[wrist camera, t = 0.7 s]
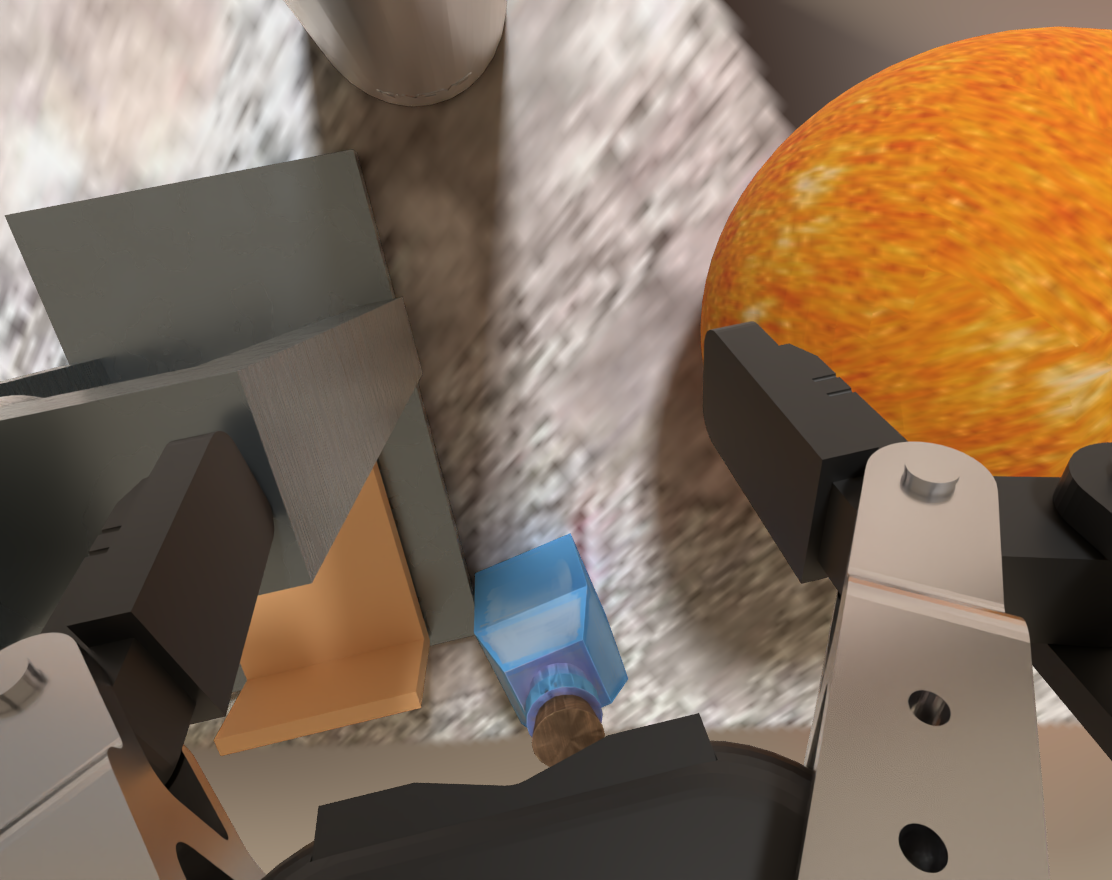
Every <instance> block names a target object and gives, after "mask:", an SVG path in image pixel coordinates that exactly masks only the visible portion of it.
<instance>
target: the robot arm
mask: <svg viewBox="0 0 1112 880" xmlns="http://www.w3.org/2000/svg"><path fill="white" fill-rule="evenodd" d="M284 2H285V3H286V4H287V6H288V7H289V8H290V10H291V11H292V12H293V13H294V15H295V16H296V17H297V19H298V20H299V21H300V23H301V24H302V26H303V27H304V28H305V30H306V31H307V32H308V34H309V35H310V36H311V37H312V39H313V40H314V41H315V43H316V44H317V45H318V47H319V48H320V49H321V50H322V52H323V53H324V54H325V56H326V57H327V58H328V60H329V61H330V62H331V64H332V65H333V66H334V67H335V68H336V69H337V70H338V71H339V72H340V73H341V74H342V75H343V76H344V77H345V78H346V79H347V80H348V81H349V82H350V83H352V84H353V85H355V86H356V87H358V88H359V89H361V90H362V91H364V92H366V93H367V94H369V95H371V96H373V97H376V98H378V99H381V100H383V101H386V102H388V103H392V104H399V105H405V106H424V105H432V104H436V103H439V102H442V101H445V100H448V99H451V98H452V97H454V96H456V95H457V94H459V93H461V92H462V91H464V90H466V89H467V88H468V87H469V86H470V85H472V84H473V83H474V82H475V81H476V80H477V79H478V78H479V77H480V76H481V75H482V74H483V72H484V71H485V69H486V67H487V66H488V64H489V63H490V61H491V60H492V58H493V57H494V55H495V52H496V49H497V47H498V44H499V42H500V39H501V37H502V32H503V27H504V21H505V15H506V7H507V0H284ZM703 414H704V420H705V425H706V428H707V432H708V434H709V437H710V439H711V441H712V443H713V445H714V446H715V448H716V449H717V451H718V453H719V454H720V456H721V457H722V459H723V460H724V462H725V464H726V465H727V467H728V468H729V470H730V472H731V473H732V475H733V476H734V478H735V479H736V481H737V483H738V484H739V486H740V487H741V489H742V491H743V492H744V494H745V495H746V497H747V498H748V500H749V502H750V503H751V505H752V506H753V508H754V510H755V511H756V513H757V514H758V516H759V517H760V519H761V521H762V522H763V524H764V525H765V527H766V528H767V530H768V532H769V533H770V535H771V536H772V538H773V540H774V541H775V543H776V544H777V546H778V547H779V549H780V551H781V552H782V554H783V555H784V557H785V559H786V560H787V562H788V563H789V565H790V566H791V568H792V570H793V571H794V573H795V574H796V576H797V578H798V579H799V581H800V582H801V584H802V583H806V582H810V581H814V580H819V579H823V578H827V577H829V578H830V580H831V581H832V583H833V584H834V586H835V587H836V589H837V590H838V591H837V595H836V599H835V604H834V609H833V615H832V620H831V626H830V631H829V637H828V642H827V648H826V653H825V658H824V664H823V669H822V675H821V680H820V686H819V691H818V697H817V702H816V707H815V712H814V718H813V723H812V727H811V733H810V737H809V742H808V747H807V752H806V756H805V761H804V765H802V764H800V763H798V762H796V761H793V760H791V759H789V758H786V757H784V756H781V755H779V754H776V753H774V752H771V751H768V750H764V749H761V748H756V747H753V746H750V745H745V744H739V743H732V742H726V741H709V738H708V735H707V733H706V730H705V727H704V725H703V722H702V719H701V717H700V714H699V713H698V714H694V715H689V716H685V717H681V718H677V719H673V720H669V721H665V722H661V723H657V724H653V725H649V726H644V727H640V728H636V729H632V730H628V731H624V732H620V733H616V734H612V735H608V736H606V737H604V738H602V739H601V740H599V741H597V742H595V743H593V744H591V745H590V746H588V747H586V748H584V749H582V750H581V751H579V752H577V753H575V754H573V755H571V756H570V757H568V758H566V759H564V760H562V761H560V762H559V763H557V764H555V765H553V766H551V767H550V768H548V769H546V770H544V771H542V772H540V773H538V774H537V775H535V776H533V777H531V778H530V779H528V780H526V781H523V782H521V783H519V784H516V785H510V786H496V785H495V786H494V785H467V784H438V783H411V784H407V785H403V786H399V787H395V788H391V789H387V790H383V791H379V792H375V793H371V794H366V795H363V796H359V797H354V798H350V799H346V800H342V801H338V802H334V803H330V804H326V805H322V806H319V808H318V816H317V823H316V831H315V839H314V841H313V842H311V843H310V844H308V845H306V846H305V847H303V848H302V849H300V850H299V851H297V852H296V853H294V854H293V855H291V856H290V857H289V858H287V859H286V860H284V861H283V862H281V863H280V864H279V865H278V866H276V867H275V868H274V869H273V870H272V871H270V872H269V873H268V874H267V875H266V874H265V873H264V872H263V870H262V869H261V868H260V867H259V866H258V865H257V863H256V862H255V861H254V859H253V858H252V857H251V855H250V854H249V852H248V851H247V849H246V848H245V846H244V844H243V842H242V841H241V839H240V837H239V835H238V834H237V832H236V830H235V828H234V826H233V825H232V823H231V821H230V819H229V818H228V816H227V814H226V812H225V811H224V809H223V807H222V805H221V803H220V802H219V800H218V798H217V796H216V794H215V793H214V791H213V789H212V787H211V786H210V784H209V782H208V781H207V778H206V777H205V775H204V773H203V771H202V770H201V768H200V766H199V764H198V762H197V761H196V759H195V757H194V755H193V754H192V753H191V751H190V750H189V749H188V748H187V747H186V746H185V745H184V741H185V737H186V734H187V731H188V728H189V725H190V724H194V723H199V722H203V721H207V720H211V719H216V718H220V717H224V716H226V713H227V709H228V705H229V701H230V698H231V694H232V690H233V686H234V683H235V679H236V675H237V672H238V668H239V664H240V660H241V657H242V653H243V649H244V645H245V642H246V638H247V634H248V631H249V627H250V623H251V619H252V616H253V612H254V608H255V604H256V601H257V597H258V593H259V589H260V586H261V582H262V578H263V575H264V571H265V567H266V563H267V560H268V556H269V552H270V548H271V545H272V541H273V537H274V519H273V514H272V510H271V507H270V504H269V502H268V500H267V498H266V496H265V494H264V493H263V491H262V489H261V487H260V486H259V484H258V482H257V481H256V479H255V477H254V475H253V474H252V472H251V470H250V469H249V467H248V465H247V463H246V462H245V460H244V458H243V456H242V455H241V453H240V451H239V450H238V448H237V446H236V444H235V443H234V441H233V440H232V438H231V437H230V436H229V435H228V434H227V433H225V432H223V431H216V432H211V433H206V434H202V435H197V436H192V437H187V438H182V439H178V440H173V441H170V442H169V443H168V444H167V445H166V447H165V448H164V450H163V452H162V454H161V455H160V457H159V459H158V461H157V463H156V464H155V466H154V468H153V470H152V472H151V473H150V475H149V477H148V478H144V479H142V480H141V481H140V482H139V483H138V484H137V485H136V486H135V487H134V488H133V489H132V490H131V491H130V492H128V493H127V494H126V495H125V496H124V497H123V498H122V499H121V500H120V501H119V502H118V503H117V504H116V505H115V507H114V509H113V511H112V512H111V514H110V516H109V517H108V519H107V521H106V523H105V524H104V526H103V528H102V529H101V530H102V534H101V535H98V536H97V538H96V540H95V541H94V543H93V545H92V546H91V548H90V550H89V551H88V552H89V557H85V558H84V560H83V562H82V563H81V565H80V567H79V569H78V570H77V572H76V574H75V575H74V577H73V579H72V580H71V582H70V584H69V586H68V587H67V589H66V591H65V592H64V594H63V596H62V597H61V599H60V601H59V603H58V604H57V606H56V608H55V609H54V611H53V613H52V615H51V616H50V618H49V620H48V621H47V623H46V625H45V626H44V628H43V630H42V632H41V633H40V634H39V635H35V636H31V637H29V638H26V639H23V640H20V641H18V642H16V643H14V644H12V645H10V646H8V647H6V648H4V649H2V650H1V651H0V880H1051V879H1050V868H1049V856H1048V845H1047V834H1046V822H1045V809H1044V798H1043V786H1042V775H1041V763H1040V752H1039V741H1038V728H1037V716H1036V705H1035V693H1034V681H1033V670H1032V665H1033V667H1034V668H1035V669H1036V670H1037V671H1038V673H1039V674H1040V675H1041V676H1042V677H1043V679H1044V680H1045V681H1046V682H1047V683H1048V685H1049V686H1050V687H1051V688H1052V689H1053V691H1054V692H1055V693H1056V694H1057V695H1058V697H1059V698H1060V699H1061V700H1062V701H1063V703H1064V704H1065V705H1066V706H1067V707H1068V709H1069V710H1070V711H1071V712H1072V714H1073V715H1074V716H1075V717H1076V718H1077V720H1078V721H1079V722H1080V723H1081V724H1082V726H1083V727H1084V728H1085V729H1086V730H1087V732H1088V733H1089V734H1090V735H1091V736H1092V738H1093V739H1094V740H1095V741H1096V742H1097V743H1098V745H1099V746H1100V747H1101V748H1102V750H1103V751H1104V752H1105V753H1106V754H1107V756H1108V757H1109V758H1110V759H1111V760H1112V442H1105V443H1097V444H1092V445H1088V446H1085V447H1083V448H1081V449H1079V450H1078V451H1076V452H1075V453H1074V454H1073V455H1072V457H1071V458H1070V460H1069V462H1068V464H1067V466H1066V468H1065V470H1064V472H1063V474H1062V476H1061V477H1013V476H992V474H991V473H990V472H989V471H988V469H986V468H985V467H984V466H983V465H982V464H981V463H980V462H978V461H977V460H975V459H974V458H972V457H970V456H968V455H967V454H965V453H963V452H960V451H958V450H955V449H953V448H950V447H946V446H943V445H938V444H934V443H927V442H908V441H907V440H906V439H905V438H904V437H903V436H902V435H901V434H900V433H899V432H898V431H897V430H895V429H894V428H893V427H892V426H891V425H890V424H889V423H888V422H887V421H886V420H885V419H884V418H883V417H882V416H881V415H880V414H878V413H877V412H876V411H875V410H874V409H873V408H872V407H871V406H870V405H869V404H868V403H867V402H866V401H865V400H864V399H863V398H861V397H860V396H859V395H858V394H857V393H856V392H852V390H851V387H850V386H849V385H848V384H847V383H846V382H844V381H843V380H842V379H841V378H840V377H836V373H835V372H834V371H833V370H832V369H831V368H830V367H829V366H828V365H826V364H825V363H824V362H823V361H822V360H821V359H820V358H819V357H818V356H816V355H814V354H812V353H810V352H807V351H805V350H803V349H801V348H798V347H796V346H794V345H792V344H790V343H789V344H784V345H778V344H777V343H776V342H775V341H774V340H773V339H772V338H771V337H770V336H769V335H768V334H767V333H766V332H765V331H764V330H763V329H762V328H761V327H760V326H759V325H758V324H757V323H756V322H754V321H750V322H745V323H740V324H735V325H731V326H726V327H721V328H716V329H711V330H708V331H707V333H706V335H705V339H704V373H703Z"/></svg>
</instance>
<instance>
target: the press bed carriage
mask: <svg viewBox="0 0 1112 880" xmlns="http://www.w3.org/2000/svg"><path fill="white" fill-rule="evenodd" d="M429 646H430V639H429V635H428V632H427V629H426V625H425V622H424V619H423V615H422V612H421V609H420V605H419V602H418V598H417V595H416V592H415V588H414V585H413V582H412V578H411V575H410V572H409V568H408V565H407V561H406V558H405V555H404V551H403V548H402V545H401V541H400V538H399V535H398V531H397V528H396V524H395V521H394V518H393V514H392V511H391V508H390V504H389V501H388V497H387V494H386V491H385V487H384V484H383V481H382V477H381V474H380V471H379V467H378V464H377V461H376V463H375V465H374V467H373V469H372V470H371V472H370V474H369V476H368V478H367V480H366V482H365V484H364V486H363V487H362V489H361V491H360V493H359V495H358V497H357V499H356V501H355V503H354V505H353V506H352V508H351V510H350V512H349V514H348V516H347V518H346V520H345V522H344V523H343V525H342V527H341V529H340V531H339V533H338V535H337V537H336V539H335V541H334V542H333V544H332V546H331V548H330V550H329V552H328V554H327V556H326V558H325V560H324V561H323V563H322V565H321V567H320V569H319V571H318V573H317V575H316V577H315V578H314V580H313V582H312V583H311V584H307V585H302V586H298V587H294V588H289V589H285V590H280V591H276V592H272V593H267V594H263V595H258V597H257V601H256V604H255V608H254V612H253V616H252V619H251V623H250V627H249V631H248V634H247V638H246V642H245V645H244V649H243V653H242V657H241V660H240V664H241V666H242V669H243V671H244V674H245V676H246V679H247V681H246V683H245V685H244V687H243V689H242V690H241V692H240V694H239V696H238V698H237V699H236V701H235V703H234V705H233V706H232V708H231V710H230V712H229V714H228V715H227V717H226V719H225V721H224V723H223V724H222V726H221V728H220V730H219V731H218V733H217V735H216V737H215V739H214V742H215V744H216V747H217V749H218V751H219V753H220V756H224V755H228V754H232V753H236V752H240V751H244V750H249V749H253V748H257V747H261V746H265V745H269V744H273V743H278V742H282V741H286V740H290V739H294V738H298V737H302V736H307V735H311V734H315V733H319V732H323V731H327V730H331V729H336V728H340V727H344V726H348V725H352V724H356V723H360V722H365V721H369V720H373V719H377V718H381V717H385V716H389V715H394V714H398V713H402V712H406V711H410V710H414V709H418V708H421V704H422V697H423V690H424V682H425V675H426V668H427V660H428V653H429Z"/></svg>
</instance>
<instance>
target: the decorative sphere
mask: <svg viewBox="0 0 1112 880" xmlns="http://www.w3.org/2000/svg"><path fill="white" fill-rule="evenodd" d="M750 321H754V322H756V323H757V324H758V325H759V326H760V327H761V328H762V329H763V330H764V331H765V332H766V333H767V334H768V335H769V336H770V337H771V338H772V339H773V340H774V341H775V342H776V343H777V344H778V345H784V344H789V343H790V344H792V345H794V346H796V347H798V348H801V349H803V350H805V351H807V352H810V353H812V354H814V355H816V356H818V357H819V358H820V359H821V360H822V361H823V362H824V363H825V364H826V365H828V366H829V367H830V368H831V369H832V370H833V371H834V372H835V373H836V377H840V378H841V379H842V380H843V381H844V382H846V383H847V384H848V385H849V386H850V387H851V390H852V392H856V393H857V394H858V395H859V396H860V397H861V398H863V399H864V400H865V401H866V402H867V403H868V404H869V405H870V406H871V407H872V408H873V409H874V410H875V411H876V412H877V413H878V414H880V415H881V416H882V417H883V418H884V419H885V420H886V421H887V422H888V423H889V424H890V425H891V426H892V427H893V428H894V429H895V430H897V431H898V432H899V433H900V434H901V435H902V436H903V437H904V438H905V439H906V440H907V441H908V442H927V443H934V444H938V445H943V446H946V447H950V448H953V449H955V450H958V451H960V452H963V453H965V454H967V455H968V456H970V457H972V458H974V459H975V460H977V461H978V462H980V463H981V464H982V465H983V466H984V467H985V468H986V469H988V471H989V472H990V473H991V474H992V476H1013V477H1061V476H1062V474H1063V472H1064V470H1065V468H1066V466H1067V464H1068V462H1069V460H1070V458H1071V457H1072V455H1073V454H1074V453H1075V452H1076V451H1078V450H1079V449H1081V448H1083V447H1085V446H1088V445H1092V444H1097V443H1105V442H1112V30H1108V29H1107V30H1106V29H1090V28H1073V27H1047V28H1031V29H1020V30H1010V31H1004V32H998V33H993V34H987V35H982V36H978V37H973V38H969V39H965V40H961V41H957V42H954V43H950V44H947V45H944V46H940V47H937V48H934V49H931V50H929V51H926V52H924V53H921V54H918V55H916V56H913V57H911V58H909V59H907V60H904V61H902V62H899V63H897V64H894V65H892V66H890V67H888V68H886V69H884V70H882V71H881V72H879V73H877V74H875V75H873V76H871V77H870V78H868V79H866V80H864V81H862V82H861V83H859V84H857V85H855V86H854V87H852V88H850V89H849V90H847V91H846V92H844V93H843V94H841V95H840V96H838V97H837V98H835V99H834V100H832V101H831V102H829V103H828V104H827V105H825V106H824V107H823V108H822V109H821V110H820V111H818V112H817V113H816V114H814V115H813V116H812V117H811V118H810V119H809V120H808V121H806V122H805V123H804V124H802V125H801V126H800V127H799V128H798V129H796V130H795V131H794V132H793V133H792V134H791V135H790V136H789V137H788V138H787V139H786V140H785V141H784V142H783V143H782V144H781V145H780V146H779V147H778V148H777V150H776V151H775V152H774V153H773V154H772V156H771V157H770V158H769V159H768V160H767V162H766V163H765V164H764V165H763V166H762V168H761V169H760V170H759V171H758V172H757V174H756V175H755V176H754V178H753V179H752V181H751V182H750V183H749V185H748V186H747V188H746V189H745V191H744V192H743V193H742V195H741V197H740V198H739V200H738V202H737V204H736V205H735V207H734V209H733V211H732V212H731V214H730V216H729V218H728V220H727V222H726V225H725V227H724V229H723V231H722V233H721V235H720V238H719V241H718V243H717V246H716V249H715V252H714V254H713V257H712V260H711V264H710V268H709V272H708V275H707V279H706V284H705V289H704V295H703V301H702V313H701V351H702V360H703V368H704V339H705V335H706V333H707V331H708V330H711V329H716V328H721V327H726V326H731V325H735V324H740V323H745V322H750Z"/></svg>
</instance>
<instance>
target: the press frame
mask: <svg viewBox="0 0 1112 880" xmlns="http://www.w3.org/2000/svg"><path fill="white" fill-rule="evenodd" d="M5 217H6V220H7V222H8V224H9V227H10V229H11V231H12V233H13V236H14V238H15V240H16V243H17V245H18V247H19V250H20V252H21V254H22V256H23V259H24V261H25V263H26V266H27V268H28V270H29V273H30V275H31V277H32V280H33V282H34V284H35V286H36V289H37V291H38V293H39V296H40V298H41V300H42V303H43V305H44V307H45V309H46V312H47V314H48V316H49V319H50V321H51V323H52V326H53V328H54V330H55V332H56V335H57V337H58V339H59V342H60V344H61V346H62V349H63V351H64V353H65V355H66V358H67V360H68V362H69V365H65V366H60V367H56V368H52V369H48V370H44V371H40V372H36V373H32V374H28V375H24V376H20V377H16V378H12V379H8V380H4V381H0V651H1V650H2V649H4V648H6V647H8V646H10V645H12V644H14V643H16V642H18V641H20V640H23V639H26V638H29V637H31V636H35V635H39V634H40V633H41V632H42V630H43V628H44V626H45V625H46V623H47V621H48V620H49V618H50V616H51V615H52V613H53V611H54V609H55V608H56V606H57V604H58V603H59V601H60V599H61V597H62V596H63V594H64V592H65V591H66V589H67V587H68V586H69V584H70V582H71V580H72V579H73V577H74V575H75V574H76V572H77V570H78V569H79V567H80V565H81V563H82V562H83V560H84V558H85V557H89V552H88V551H89V550H90V548H91V546H92V545H93V543H94V541H95V540H96V538H97V536H98V535H101V534H102V530H101V529H102V528H103V526H104V524H105V523H106V521H107V519H108V517H109V516H110V514H111V512H112V511H113V509H114V507H115V505H116V504H117V503H118V502H119V501H120V500H121V499H122V498H123V497H124V496H125V495H126V494H127V493H128V492H130V491H131V490H132V489H133V488H134V487H135V486H136V485H137V484H138V483H139V482H140V481H141V480H142V479H144V478H148V477H149V475H150V473H151V472H152V470H153V468H154V466H155V464H156V463H157V461H158V459H159V457H160V455H161V454H162V452H163V450H164V448H165V447H166V445H167V444H168V443H169V442H170V441H173V440H178V439H182V438H187V437H192V436H197V435H202V434H206V433H211V432H216V431H223V432H225V433H227V434H228V435H229V436H230V437H231V438H232V440H233V441H234V443H235V444H236V446H237V448H238V450H239V451H240V453H241V455H242V456H243V458H244V460H245V462H246V463H247V465H248V467H249V469H250V470H251V472H252V474H253V475H254V477H255V479H256V481H257V482H258V484H259V486H260V487H261V489H262V491H263V493H264V494H265V496H266V498H267V500H268V502H269V504H270V507H271V510H272V514H273V519H274V537H273V541H272V545H271V548H270V552H269V556H268V560H267V563H266V567H265V571H264V575H263V578H262V582H261V586H260V589H259V593H258V595H263V594H267V593H272V592H276V591H280V590H285V589H289V588H294V587H298V586H302V585H307V584H311V583H312V582H313V580H314V578H315V577H316V575H317V573H318V571H319V569H320V567H321V565H322V563H323V561H324V560H325V558H326V556H327V554H328V552H329V550H330V548H331V546H332V544H333V542H334V541H335V539H336V537H337V535H338V533H339V531H340V529H341V527H342V525H343V523H344V522H345V520H346V518H347V516H348V514H349V512H350V510H351V508H352V506H353V505H354V503H355V501H356V499H357V497H358V495H359V493H360V491H361V489H362V487H363V486H364V484H365V482H366V480H367V478H368V476H369V474H370V472H371V470H372V469H373V467H374V465H375V463H376V461H377V464H378V467H379V471H380V474H381V477H382V481H383V484H384V487H385V491H386V494H387V497H388V501H389V504H390V508H391V511H392V514H393V518H394V521H395V524H396V528H397V531H398V535H399V538H400V541H401V545H402V548H403V551H404V555H405V558H406V561H407V565H408V568H409V572H410V575H411V578H412V582H413V585H414V588H415V592H416V595H417V598H418V602H419V605H420V609H421V612H422V615H423V619H424V622H425V625H426V629H427V632H428V635H429V639H430V646H431V645H435V644H439V643H444V642H448V641H452V640H456V639H461V638H465V637H469V636H473V635H475V634H474V607H475V596H474V592H473V588H472V585H471V581H470V577H469V573H468V570H467V566H466V562H465V558H464V554H463V551H462V547H461V543H460V539H459V536H458V532H457V528H456V524H455V520H454V517H453V513H452V509H451V505H450V502H449V498H448V494H447V490H446V487H445V483H444V479H443V475H442V471H441V468H440V464H439V460H438V456H437V453H436V449H435V445H434V441H433V437H432V434H431V430H430V426H429V422H428V419H427V415H426V411H425V407H424V404H423V400H422V396H421V392H420V388H419V385H418V381H419V379H420V378H421V376H422V374H423V373H422V369H421V365H420V361H419V358H418V354H417V350H416V346H415V342H414V339H413V335H412V331H411V327H410V323H409V319H408V316H407V312H406V308H405V304H404V300H403V297H399V298H395V294H394V290H393V287H392V283H391V279H390V275H389V271H388V268H387V264H386V260H385V256H384V253H383V249H382V245H381V241H380V238H379V234H378V230H377V226H376V222H375V219H374V215H373V211H372V207H371V204H370V200H369V196H368V192H367V188H366V185H365V181H364V177H363V173H362V170H361V166H360V162H359V158H358V155H357V152H356V151H354V150H353V149H352V150H346V151H341V152H336V153H331V154H325V155H320V156H315V157H310V158H304V159H299V160H294V161H289V162H283V163H278V164H273V165H267V166H262V167H257V168H252V169H246V170H241V171H236V172H231V173H225V174H220V175H215V176H210V177H204V178H199V179H194V180H188V181H183V182H178V183H173V184H167V185H162V186H157V187H152V188H146V189H141V190H136V191H131V192H125V193H120V194H115V195H109V196H104V197H99V198H94V199H88V200H83V201H78V202H73V203H67V204H62V205H57V206H52V207H46V208H41V209H36V210H30V211H25V212H20V213H15V214H9V215H5ZM246 681H247V679H246V676H245V674H244V671H243V669H242V666H241V664H239V668H238V672H237V675H236V679H235V683H234V686H233V690H232V692H236V691H240V690H242V689H243V687H244V685H245V683H246Z"/></svg>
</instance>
